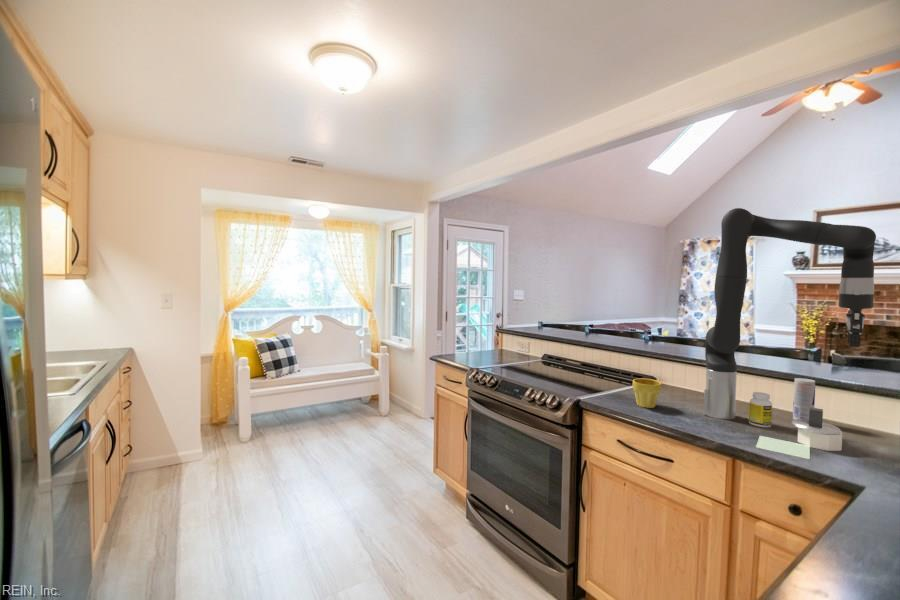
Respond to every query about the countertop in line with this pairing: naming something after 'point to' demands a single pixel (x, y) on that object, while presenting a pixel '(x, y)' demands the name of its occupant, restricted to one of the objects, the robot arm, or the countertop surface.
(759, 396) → the pill bottle
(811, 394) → the beverage can
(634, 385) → the plant pot
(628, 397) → the countertop surface
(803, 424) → the lid
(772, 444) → the mat
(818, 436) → the bowl
